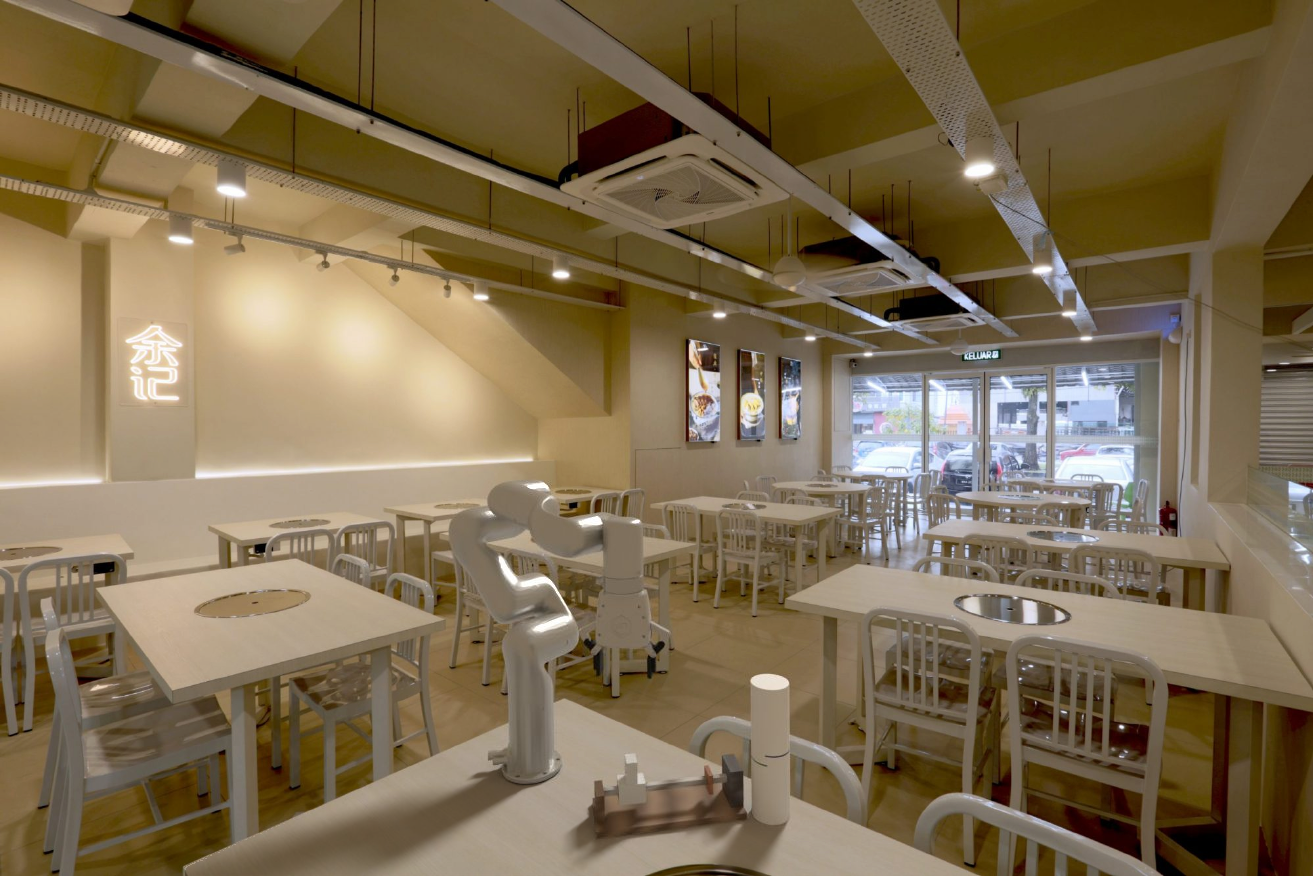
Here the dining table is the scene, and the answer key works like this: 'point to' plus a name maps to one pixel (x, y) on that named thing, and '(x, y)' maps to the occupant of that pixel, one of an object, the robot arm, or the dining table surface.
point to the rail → (673, 803)
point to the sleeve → (631, 783)
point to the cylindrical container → (770, 749)
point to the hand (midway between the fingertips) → (624, 674)
